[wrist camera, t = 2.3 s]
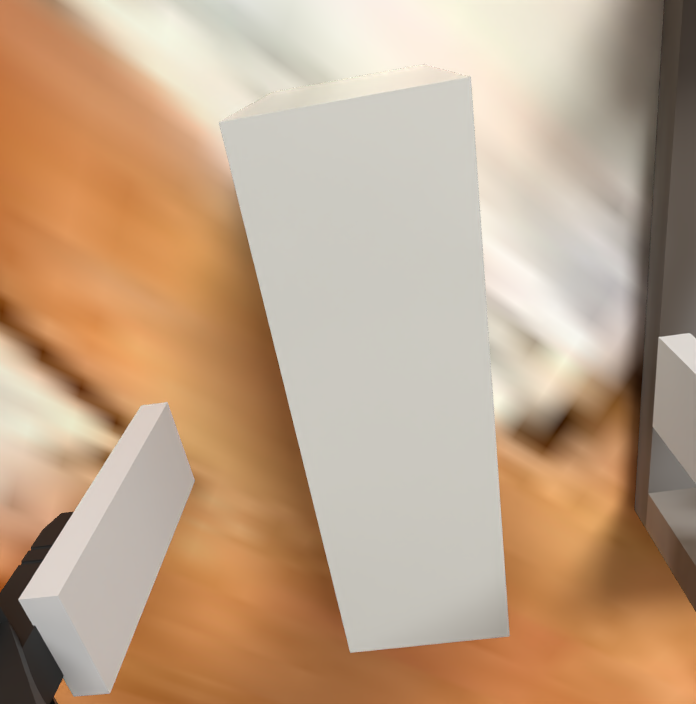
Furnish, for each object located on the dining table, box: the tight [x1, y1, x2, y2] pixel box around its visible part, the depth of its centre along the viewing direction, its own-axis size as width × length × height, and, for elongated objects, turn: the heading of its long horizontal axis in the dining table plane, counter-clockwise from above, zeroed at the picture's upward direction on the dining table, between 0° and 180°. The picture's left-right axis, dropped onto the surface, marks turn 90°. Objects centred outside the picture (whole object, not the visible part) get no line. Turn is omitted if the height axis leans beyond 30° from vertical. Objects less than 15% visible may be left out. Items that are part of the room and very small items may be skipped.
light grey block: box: [219, 64, 509, 653], centre depth 19 cm, size 5×16×9 cm, turn 9°
